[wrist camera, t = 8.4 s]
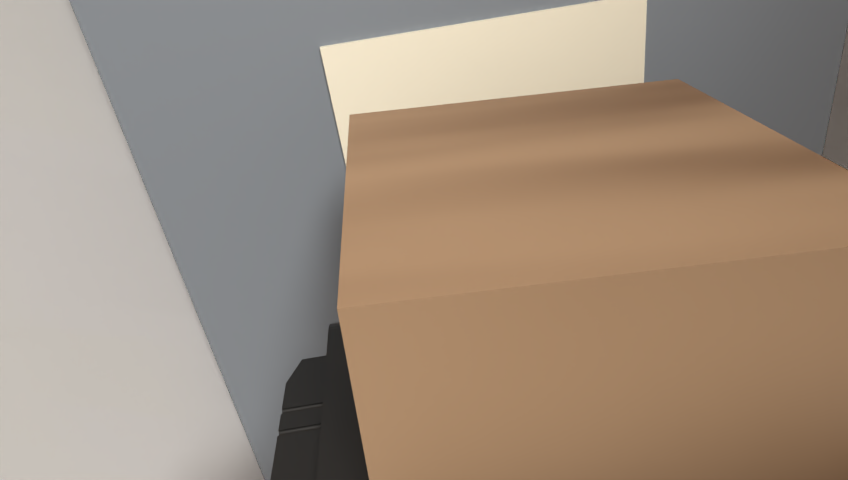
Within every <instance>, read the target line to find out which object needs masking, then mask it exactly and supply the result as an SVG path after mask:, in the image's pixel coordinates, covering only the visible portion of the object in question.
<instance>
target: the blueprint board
mask: <svg viewBox="0 0 848 480" xmlns="http://www.w3.org/2000/svg"><path fill="white" fill-rule="evenodd" d="M69 1H70V3H71V6H72V8H73V11H74V13H75V15H76V18H77V20H78V23H79V25H80V28H81V30H82V33H83V35H84V37H85V40H86V42H87V45H88V47H89V50H90V52H91V55H92V57H93V60H94V62H95V64H96V67H97V69H98V72H99V74H100V77H101V79H102V82H103V84H104V87H105V89H106V91H107V94H108V96H109V99H110V101H111V104H112V106H113V109H114V111H115V114H116V116H117V118H118V121H119V123H120V126H121V128H122V131H123V133H124V136H125V138H126V140H127V143H128V145H129V148H130V150H131V153H132V155H133V158H134V160H135V163H136V165H137V167H138V170H139V172H140V175H141V177H142V180H143V182H144V185H145V187H146V190H147V192H148V194H149V197H150V199H151V202H152V204H153V207H154V209H155V212H156V214H157V217H158V219H159V221H160V224H161V226H162V229H163V231H164V234H165V236H166V239H167V241H168V243H169V246H170V248H171V251H172V253H173V256H174V258H175V261H176V263H177V266H178V268H179V270H180V273H181V275H182V278H183V280H184V283H185V285H186V288H187V290H188V293H189V295H190V297H191V300H192V302H193V305H194V307H195V310H196V312H197V315H198V317H199V320H200V322H201V324H202V327H203V329H204V332H205V334H206V337H207V339H208V342H209V344H210V347H211V349H212V351H213V354H214V356H215V359H216V361H217V364H218V366H219V369H220V371H221V373H222V376H223V378H224V381H225V383H226V386H227V388H228V391H229V393H230V396H231V398H232V400H233V403H234V405H235V408H236V410H237V413H238V415H239V418H240V420H241V423H242V425H243V427H244V430H245V432H246V435H247V437H248V440H249V442H250V445H251V447H252V450H253V452H254V454H255V457H256V459H257V462H258V464H259V467H260V469H261V472H262V474H263V476H264V479H265V480H270V479H271V473H272V467H273V461H274V454H275V448H276V442H277V436H279V431H278V429H279V423H280V417H281V414H282V405H283V398H284V392H285V386H286V382H287V381H288V379H289V378H290V376H291V375H292V374H293V372H294V371H295V369H296V368H297V366H298V365H299V363H300V362H301V360H302V359H307V358H313V357H319V356H325V355H326V353H327V341H328V329H329V325H330V324H332V323H338V322H339V317H338V311H337V301H338V285H339V270H340V254H341V239H342V223H343V208H344V192H345V177H346V161H347V146H348V130H349V115H351V114H361V113H370V112H379V111H388V110H397V109H407V108H416V107H425V106H434V105H443V104H452V103H462V102H471V101H480V100H489V99H498V98H508V97H517V96H526V95H535V94H544V93H553V92H563V91H572V90H581V89H590V88H599V87H609V86H618V85H627V84H636V83H645V82H655V81H664V80H673V79H679V80H681V81H683V82H685V83H687V84H688V85H690V86H692V87H694V88H696V89H698V90H700V91H701V92H703V93H705V94H707V95H709V96H711V97H713V98H714V99H716V100H718V101H720V102H722V103H724V104H726V105H727V106H729V107H731V108H733V109H735V110H737V111H739V112H741V113H742V114H744V115H746V116H748V117H750V118H752V119H754V120H755V121H757V122H759V123H761V124H763V125H765V126H767V127H768V128H770V129H772V130H774V131H776V132H778V133H780V134H781V135H783V136H785V137H787V138H789V139H791V140H793V141H795V142H796V143H798V144H800V145H802V146H804V147H806V148H808V149H809V150H811V151H813V152H815V153H817V154H819V155H821V156H822V153H823V148H824V143H825V138H826V133H827V128H828V123H829V118H830V113H831V108H832V103H833V97H834V92H835V87H836V82H837V77H838V72H839V67H840V62H841V57H842V52H843V47H844V42H845V37H846V32H847V26H848V0H69Z"/></svg>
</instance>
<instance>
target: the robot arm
mask: <svg viewBox="0 0 848 480" xmlns="http://www.w3.org/2000/svg"><path fill="white" fill-rule="evenodd" d="M278 431H279V436H277V442H276V448H275V454H274V461H273V467H272V473H271V479H270V480H369V476H368V471H367V465H366V460H365V455H364V450H363V444H362V439H361V434H360V428H359V423H358V418H357V412H356V407H355V402H354V396H353V391H352V386H351V380H350V375H349V370H348V365H347V359H346V354H345V349H344V343H343V338H342V333H341V327H340V322H338V323H332V324H330V325H329V329H328V341H327V353H326V355H325V356H319V357H313V358H307V359H302V360H301V362H300V363H299V365H298V366H297V368H296V369H295V371H294V372H293V374H292V375H291V376H290V378H289V379H288V381H287V382H286V386H285V392H284V398H283V405H282V414H281V417H280V423H279V429H278Z"/></svg>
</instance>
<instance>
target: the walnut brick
mask: <svg viewBox="0 0 848 480" xmlns="http://www.w3.org/2000/svg"><path fill="white" fill-rule="evenodd" d="M337 311H338V317H339V322H340V327H341V333H342V338H343V343H344V349H345V354H346V359H347V365H348V370H349V375H350V380H351V386H352V391H353V396H354V402H355V407H356V412H357V418H358V423H359V428H360V434H361V439H362V444H363V450H364V455H365V460H366V465H367V471H368V476H369V480H848V170H847V169H845V168H843V167H841V166H839V165H837V164H835V163H834V162H832V161H830V160H828V159H826V158H824V157H822V156H821V155H819V154H817V153H815V152H813V151H811V150H809V149H808V148H806V147H804V146H802V145H800V144H798V143H796V142H795V141H793V140H791V139H789V138H787V137H785V136H783V135H781V134H780V133H778V132H776V131H774V130H772V129H770V128H768V127H767V126H765V125H763V124H761V123H759V122H757V121H755V120H754V119H752V118H750V117H748V116H746V115H744V114H742V113H741V112H739V111H737V110H735V109H733V108H731V107H729V106H727V105H726V104H724V103H722V102H720V101H718V100H716V99H714V98H713V97H711V96H709V95H707V94H705V93H703V92H701V91H700V90H698V89H696V88H694V87H692V86H690V85H688V84H687V83H685V82H683V81H681V80H679V79H673V80H664V81H655V82H645V83H636V84H627V85H618V86H609V87H599V88H590V89H581V90H572V91H563V92H553V93H544V94H535V95H526V96H517V97H508V98H498V99H489V100H480V101H471V102H462V103H452V104H443V105H434V106H425V107H416V108H407V109H397V110H388V111H379V112H370V113H361V114H351V115H349V130H348V146H347V161H346V177H345V192H344V208H343V223H342V239H341V254H340V270H339V285H338V301H337Z"/></svg>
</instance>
